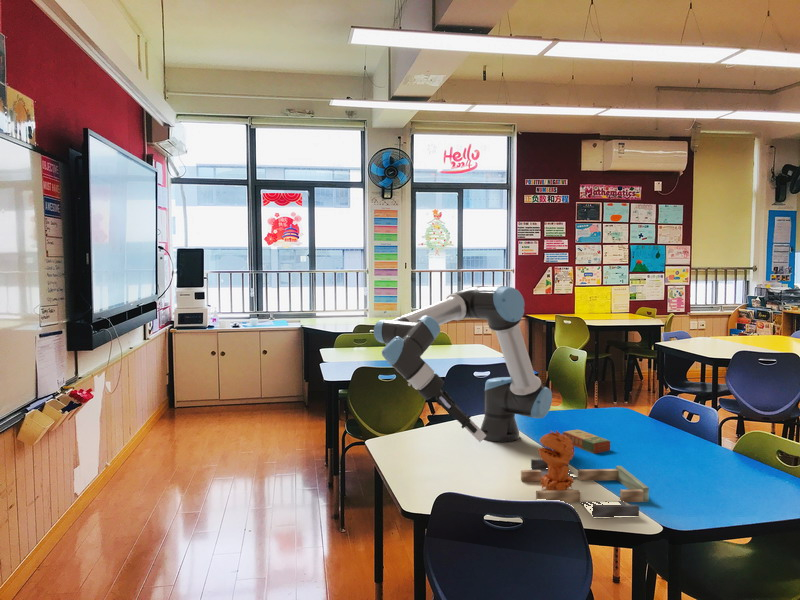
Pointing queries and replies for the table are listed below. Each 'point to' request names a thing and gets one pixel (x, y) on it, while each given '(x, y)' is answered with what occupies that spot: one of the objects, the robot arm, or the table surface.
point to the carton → (588, 441)
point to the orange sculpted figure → (556, 461)
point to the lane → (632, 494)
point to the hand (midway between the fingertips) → (482, 438)
